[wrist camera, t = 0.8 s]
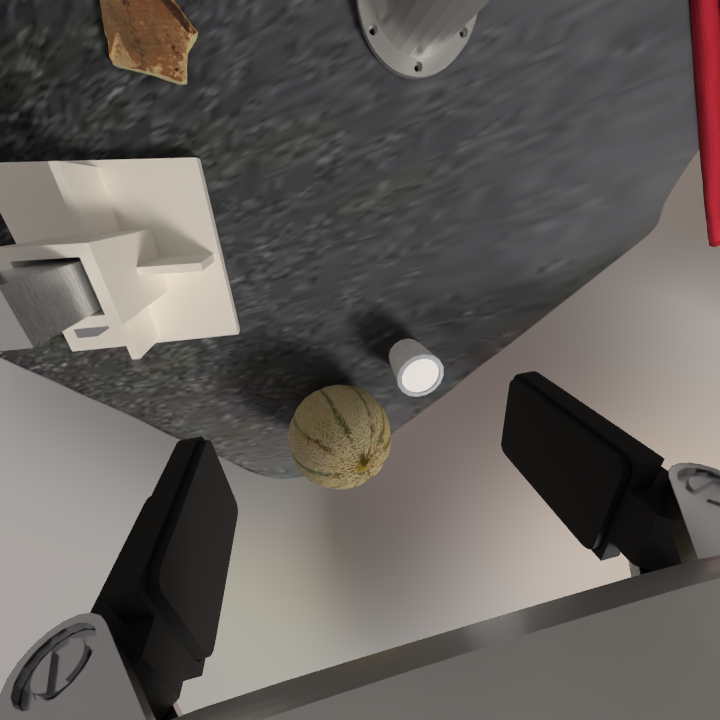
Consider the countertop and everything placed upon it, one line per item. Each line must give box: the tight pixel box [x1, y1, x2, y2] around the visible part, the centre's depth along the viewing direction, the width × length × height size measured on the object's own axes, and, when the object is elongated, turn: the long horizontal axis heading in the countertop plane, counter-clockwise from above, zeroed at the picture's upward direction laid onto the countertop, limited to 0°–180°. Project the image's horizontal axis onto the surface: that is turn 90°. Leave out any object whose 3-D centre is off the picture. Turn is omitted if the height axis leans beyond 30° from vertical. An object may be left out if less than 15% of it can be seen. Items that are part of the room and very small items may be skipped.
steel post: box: [0, 257, 102, 351], centre depth 27 cm, size 4×4×18 cm
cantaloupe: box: [288, 385, 391, 490], centre depth 45 cm, size 15×15×15 cm
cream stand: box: [0, 157, 240, 360], centre depth 31 cm, size 20×20×14 cm
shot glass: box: [389, 339, 444, 397], centre depth 47 cm, size 7×7×7 cm
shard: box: [100, 0, 198, 85], centre depth 28 cm, size 11×8×2 cm
